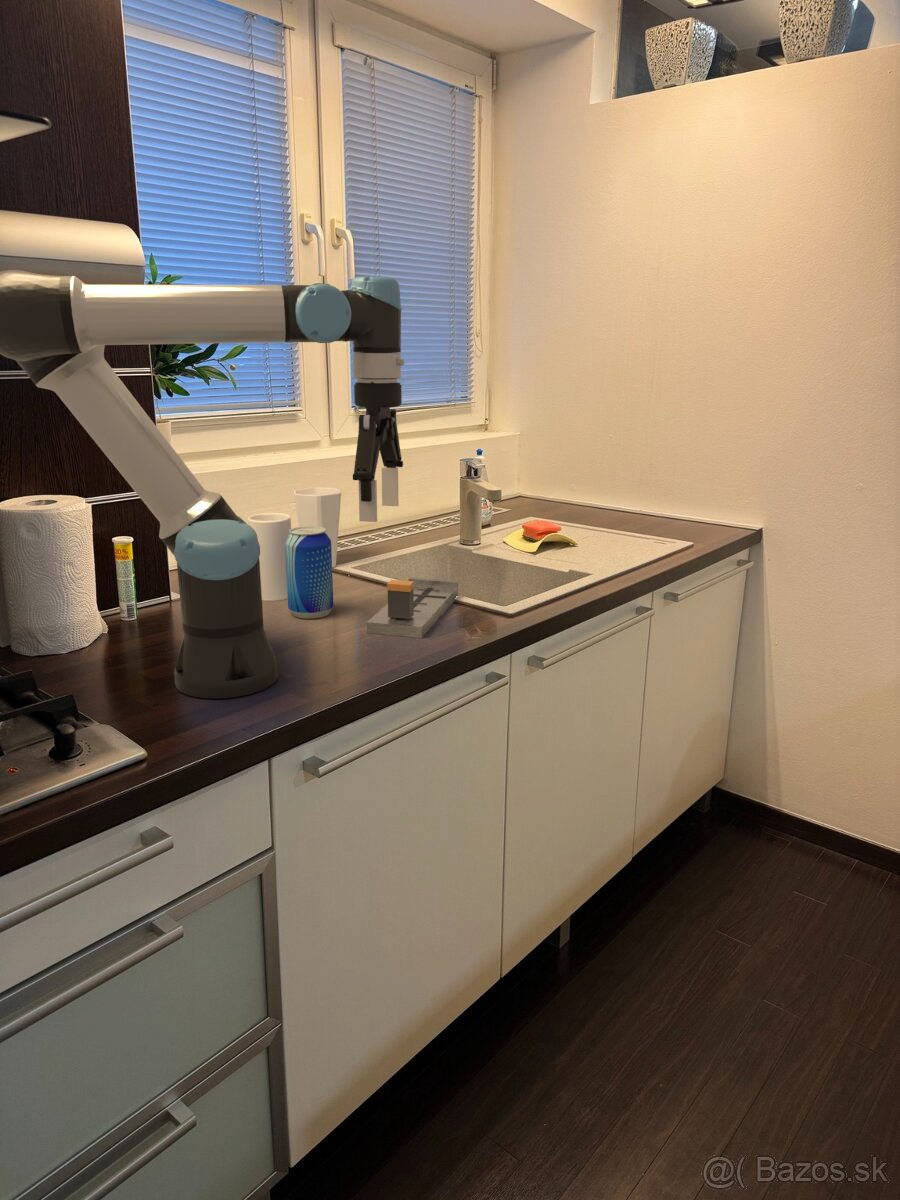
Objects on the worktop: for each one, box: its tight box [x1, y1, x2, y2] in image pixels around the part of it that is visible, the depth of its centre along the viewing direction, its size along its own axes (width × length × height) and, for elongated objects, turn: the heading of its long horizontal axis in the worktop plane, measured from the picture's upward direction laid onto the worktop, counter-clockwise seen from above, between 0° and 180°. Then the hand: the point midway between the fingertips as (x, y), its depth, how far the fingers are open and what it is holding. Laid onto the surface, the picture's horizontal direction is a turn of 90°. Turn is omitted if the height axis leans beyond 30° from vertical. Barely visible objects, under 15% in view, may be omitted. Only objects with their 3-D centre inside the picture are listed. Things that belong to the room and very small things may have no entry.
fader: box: [386, 579, 414, 619], centre depth 153 cm, size 3×4×6 cm, turn 76°
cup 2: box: [293, 486, 342, 569], centre depth 193 cm, size 11×10×17 cm
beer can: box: [285, 526, 334, 620], centre depth 160 cm, size 8×8×16 cm
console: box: [366, 576, 459, 639], centre depth 162 cm, size 26×10×3 cm, turn 165°
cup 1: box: [247, 512, 292, 602], centre depth 171 cm, size 8×8×16 cm
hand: (379, 513), depth 143 cm, fingers open, 13 cm apart
